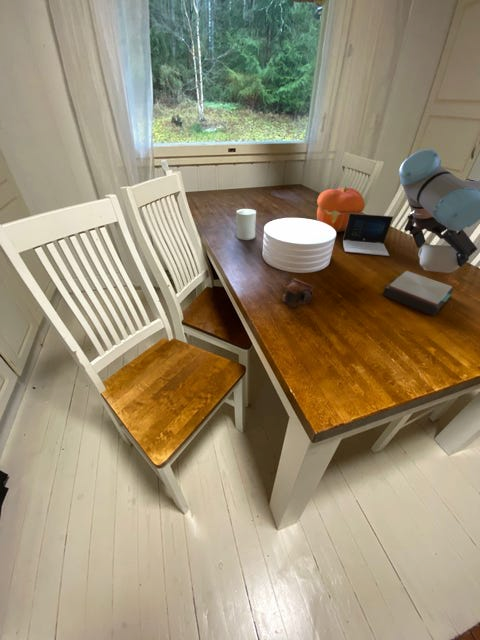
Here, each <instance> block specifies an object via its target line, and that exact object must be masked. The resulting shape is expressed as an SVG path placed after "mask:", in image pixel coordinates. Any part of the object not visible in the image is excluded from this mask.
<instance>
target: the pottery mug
mask: <svg viewBox="0 0 480 640" xmlns="http://www.w3.org/2000/svg"><path fill="white" fill-rule="evenodd" d="M286 286H287V287H286V288H287V290H286V293H284V294H283V295H282V302H283V303H285V304H286V305H288V306H290V307H293V308H296V307H297V306H298V305H299V306H300V307H303V306H305V305H307V304H308V303H310V301H311V299H312V297H313V293H314V288H315V286H314V285H312V284H310V283H307V282H305V281H303V280H301V279H298V278H296V277H292V278H291V281H289V282H288V283H287V284H286Z"/></svg>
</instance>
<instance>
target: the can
mask: <svg viewBox="0 0 480 640" xmlns="http://www.w3.org/2000/svg"><path fill="white" fill-rule="evenodd" d="M256 221H257V210H255V209H252V208H240V209H237V210H236V236H235V237H236V238H237V239H239V240H243V241H244V240H245V241H250V240H253V239H255V238H256V225H257V223H256Z"/></svg>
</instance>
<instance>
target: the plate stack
mask: <svg viewBox="0 0 480 640" xmlns="http://www.w3.org/2000/svg"><path fill="white" fill-rule="evenodd" d="M336 237H337V232H336V231H335V229H334V228H332V227H331V226H329V225H327V224H325V223H323V222H320V221H318V220H317V219H310V218H304V217H284V218H277V219H273V220H272V221H269V222H267V223H266V224H265V225H264V227H263V241H262V259H263V261H265V263H266V264H268V265H269V266H271V267H273V268H275V269H276V270H277V269H278V270H281V271H285V272H288V273H289V272H290V273H297V274H298V273H299V274H305V273H306V274H307V273H314V272H315V273H316V272H318V271H321V270H323V269H326V268H327V267H328V266H329V264H330V262H331V258H332V254H333V250H334V245H335V242H336V239H337V238H336Z"/></svg>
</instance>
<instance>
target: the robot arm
mask: <svg viewBox="0 0 480 640" xmlns="http://www.w3.org/2000/svg"><path fill="white" fill-rule="evenodd" d="M441 163H442V159H441V158H440V155H439V154H438V152H437V151H436V150H434V149H430V148H428V149H427V148H426V149H421V150H418V151H415V152H414V153H412V154H411V155H410V156H409V157H407V158H405V160H403V162H402V163H401V164H400V167H399V170H398V174H399V179H400V185H401V186H402V189H403V191H404V195H405V197H406V201H407V203H408V205H409V208H410V211H411V212H409V214H408V215H407V222H406V224H405V226H404V228H403V230H404V231H405V232H409V234H410V235H411V236H412V238H413V240H414V243H415V246H416V248H418V249H420V248H421V247H423V245H425V243H426V238H425V235H424V230H426V231H427V232H430V233H432V234H435V235H436V237H438V238H439V239H440V240H444V241H445V243H447V244H448V246H452V247H453V248H454V249H455V250H456V251H457V253H456V256H457V261H458V266H460V267H461V268H462V267H463V266H464V265H465V264H466V263H467V262H468V261H469V260H470V257H471V256H472V255H473V254H474V253H476V251H478V248H477V246H476V244H475V243H474V242H473V241H472V239H471V238H470V236H469V235H468V234H467V233H466V232H465V230H464V229H466V228H470V227H471V226H473V225H474V224H476V223H478V222H479V221H480V180H462V179H461V178H459V177H457V176H456V175H454V174H453V173H451V172H450V171H449V170H447V169H446V168H444V167H443V166H442V164H441ZM414 225H415V226H414ZM442 233H443V234H442ZM460 267H459V268H460Z"/></svg>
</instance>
